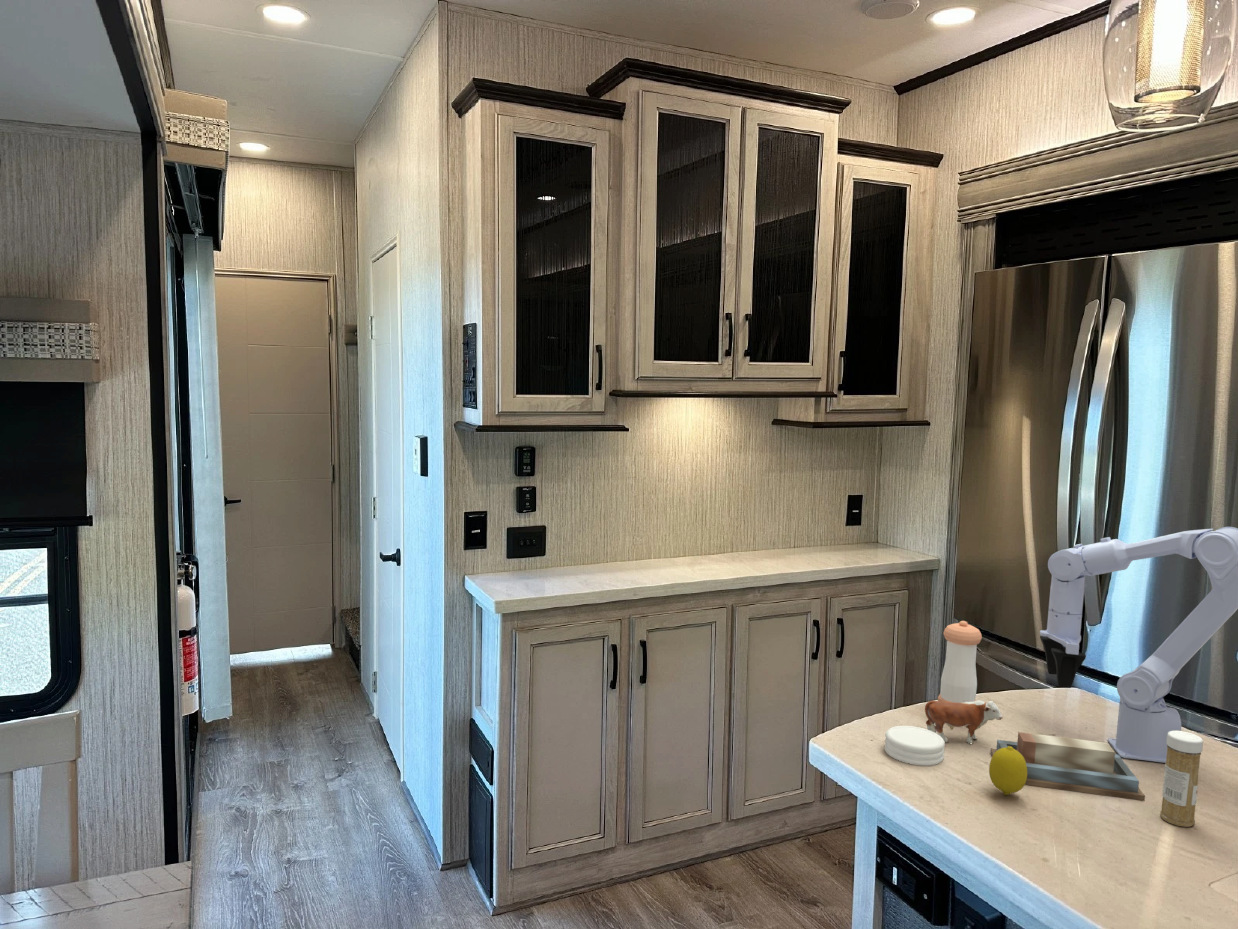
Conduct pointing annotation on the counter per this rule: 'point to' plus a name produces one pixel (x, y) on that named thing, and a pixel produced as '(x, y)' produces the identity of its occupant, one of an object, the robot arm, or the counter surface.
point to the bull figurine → (960, 716)
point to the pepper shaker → (960, 663)
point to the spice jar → (1181, 778)
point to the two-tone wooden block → (1066, 752)
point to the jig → (1082, 778)
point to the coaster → (914, 745)
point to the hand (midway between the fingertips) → (1059, 680)
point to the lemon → (1008, 770)
